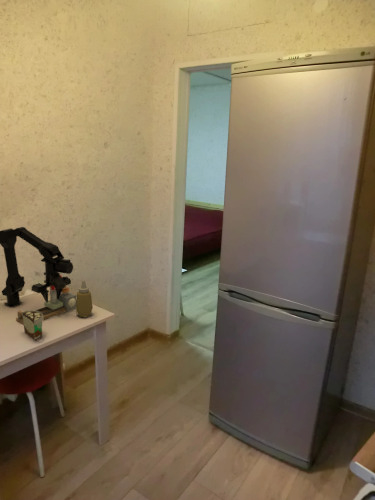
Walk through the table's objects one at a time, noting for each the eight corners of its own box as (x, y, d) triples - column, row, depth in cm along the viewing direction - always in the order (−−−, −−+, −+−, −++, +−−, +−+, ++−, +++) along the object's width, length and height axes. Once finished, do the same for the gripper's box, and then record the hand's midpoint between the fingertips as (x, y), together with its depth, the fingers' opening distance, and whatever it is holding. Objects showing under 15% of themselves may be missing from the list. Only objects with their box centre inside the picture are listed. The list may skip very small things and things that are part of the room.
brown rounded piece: (58, 296, 178) (58, 288, 177) (65, 294, 182) (65, 286, 181) (64, 298, 176) (64, 290, 175) (71, 296, 180) (71, 288, 179)
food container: (50, 337, 150) (48, 316, 148) (36, 342, 146) (34, 320, 143) (36, 327, 158) (35, 307, 155) (23, 332, 153) (21, 311, 151)
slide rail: (16, 321, 163) (15, 312, 162) (55, 306, 181) (55, 298, 180) (27, 326, 158) (27, 317, 157) (67, 310, 176) (66, 302, 175)
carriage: (44, 306, 174) (43, 291, 171) (54, 302, 178) (53, 287, 176) (53, 309, 170) (52, 294, 168) (63, 305, 175) (62, 291, 173)
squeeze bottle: (75, 312, 175) (74, 278, 170) (92, 310, 178) (91, 277, 173) (76, 319, 168) (75, 284, 163) (93, 317, 170) (92, 283, 166)
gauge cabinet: (54, 306, 181) (53, 293, 179) (64, 302, 186) (63, 290, 184) (67, 311, 175) (67, 298, 174) (77, 307, 180) (76, 295, 179)
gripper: (44, 279, 157) (46, 310, 161) (78, 270, 173) (78, 299, 176) (30, 273, 163) (31, 304, 167) (63, 265, 179) (64, 294, 182)
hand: (52, 300), depth 173 cm, fingers open, 6 cm apart
